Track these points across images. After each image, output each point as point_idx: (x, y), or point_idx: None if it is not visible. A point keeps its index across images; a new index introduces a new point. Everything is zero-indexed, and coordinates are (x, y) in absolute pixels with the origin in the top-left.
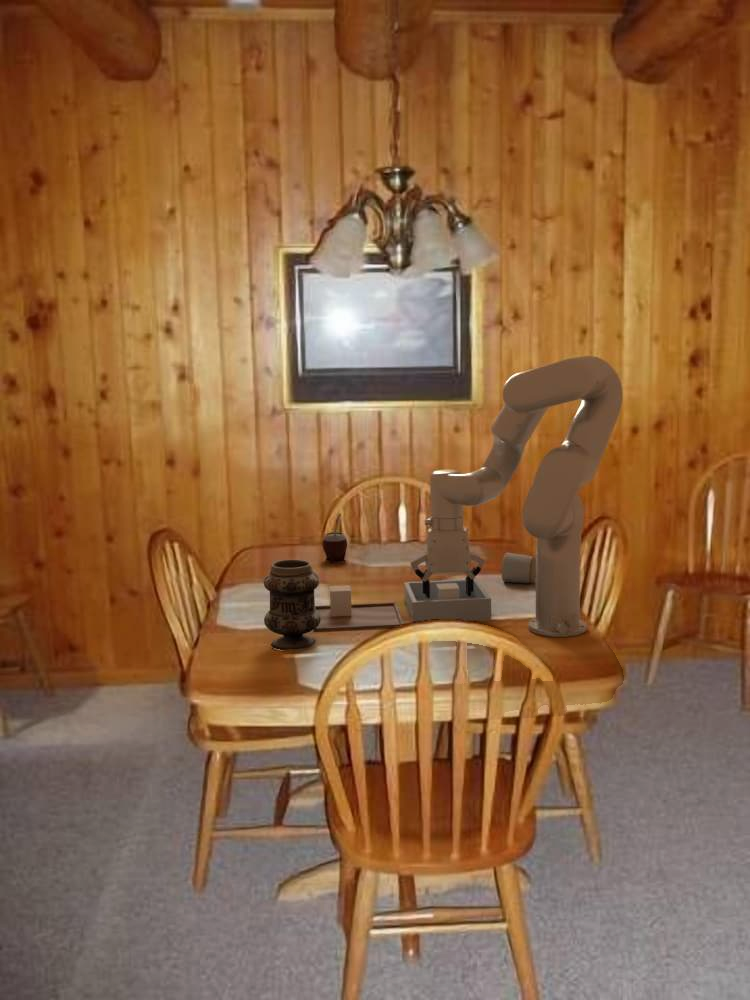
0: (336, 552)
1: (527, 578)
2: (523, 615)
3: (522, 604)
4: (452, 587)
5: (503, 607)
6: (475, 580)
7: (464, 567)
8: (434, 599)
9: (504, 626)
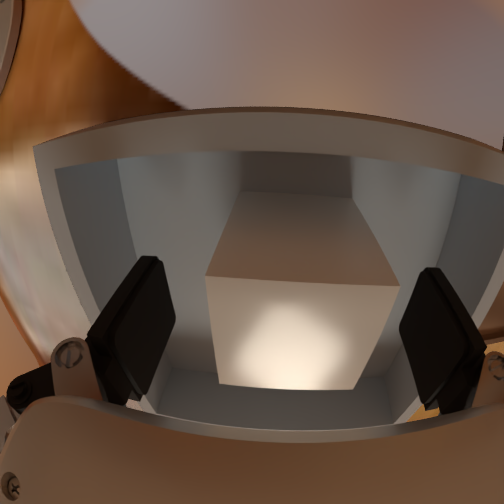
0: None
1: None
2: (23, 182)
3: (46, 288)
4: (264, 311)
5: None
6: (149, 410)
7: (52, 452)
8: None
9: (73, 41)
